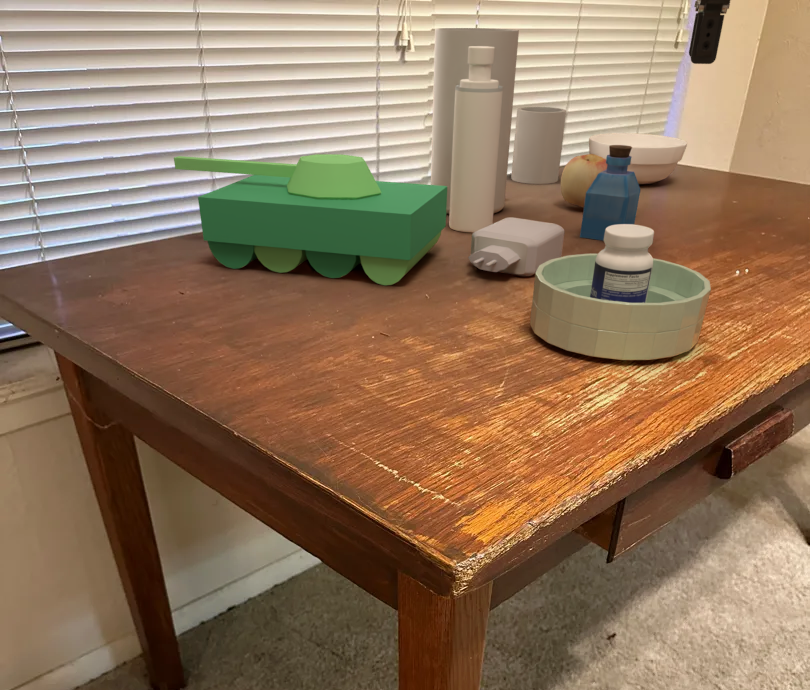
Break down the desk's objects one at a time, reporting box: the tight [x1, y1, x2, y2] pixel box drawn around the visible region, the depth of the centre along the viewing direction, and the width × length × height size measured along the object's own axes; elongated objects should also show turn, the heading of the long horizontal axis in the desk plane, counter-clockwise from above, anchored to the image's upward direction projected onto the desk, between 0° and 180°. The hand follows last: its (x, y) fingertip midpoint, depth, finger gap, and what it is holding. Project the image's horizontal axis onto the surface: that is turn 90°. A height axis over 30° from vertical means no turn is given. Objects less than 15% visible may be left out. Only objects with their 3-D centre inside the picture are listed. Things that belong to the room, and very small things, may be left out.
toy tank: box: [173, 153, 447, 286], centre depth 99 cm, size 18×12×35 cm
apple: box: [560, 153, 608, 208], centre depth 126 cm, size 9×9×8 cm
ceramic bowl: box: [529, 253, 712, 361], centre depth 78 cm, size 17×17×6 cm
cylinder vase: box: [430, 27, 520, 215], centre depth 120 cm, size 12×12×25 cm
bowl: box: [588, 132, 688, 185], centre depth 146 cm, size 18×18×7 cm
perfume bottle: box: [579, 145, 641, 242], centre depth 110 cm, size 6×6×12 cm
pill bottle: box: [590, 224, 655, 303], centre depth 77 cm, size 6×6×10 cm
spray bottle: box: [448, 46, 503, 234], centre depth 109 cm, size 7×7×25 cm
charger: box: [468, 216, 565, 277], centre depth 97 cm, size 5×9×15 cm
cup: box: [510, 106, 567, 185], centre depth 145 cm, size 9×9×12 cm
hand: (700, 60), depth 73 cm, fingers open, 8 cm apart
